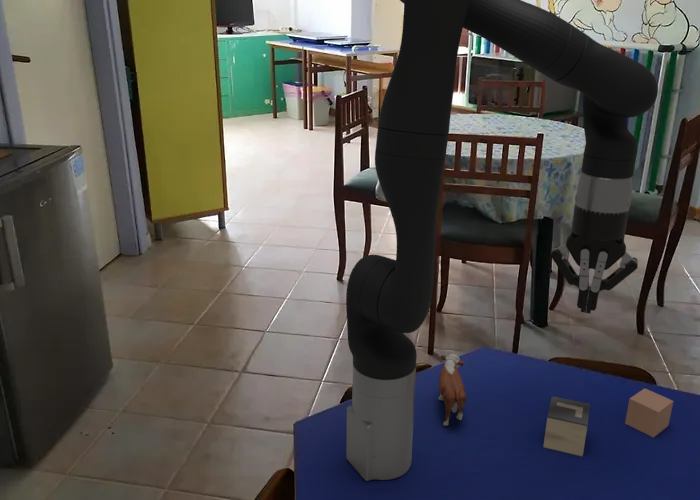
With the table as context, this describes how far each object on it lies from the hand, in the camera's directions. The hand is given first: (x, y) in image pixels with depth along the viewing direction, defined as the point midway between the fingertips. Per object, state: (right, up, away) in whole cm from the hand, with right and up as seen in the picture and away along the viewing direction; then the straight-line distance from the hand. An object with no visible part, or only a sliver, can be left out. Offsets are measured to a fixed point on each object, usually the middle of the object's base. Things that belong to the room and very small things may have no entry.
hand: (585, 310), depth 104 cm
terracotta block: (+13, -20, +9) cm, 26 cm away
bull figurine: (-19, -18, +13) cm, 30 cm away
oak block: (-2, -16, +3) cm, 16 cm away
